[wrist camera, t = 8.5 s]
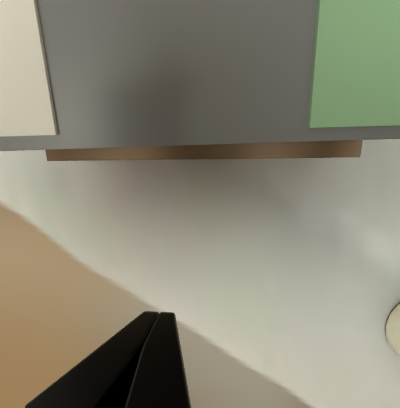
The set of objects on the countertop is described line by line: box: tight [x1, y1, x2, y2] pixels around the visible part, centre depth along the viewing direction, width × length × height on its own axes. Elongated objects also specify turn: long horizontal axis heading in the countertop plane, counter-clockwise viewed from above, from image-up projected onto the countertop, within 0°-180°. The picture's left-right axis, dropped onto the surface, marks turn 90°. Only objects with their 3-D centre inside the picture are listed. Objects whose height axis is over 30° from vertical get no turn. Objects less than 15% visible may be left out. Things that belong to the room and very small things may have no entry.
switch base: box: [46, 140, 362, 161], centre depth 14 cm, size 16×9×6 cm, turn 92°
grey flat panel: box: [0, 0, 400, 151], centre depth 10 cm, size 18×7×2 cm, turn 91°
